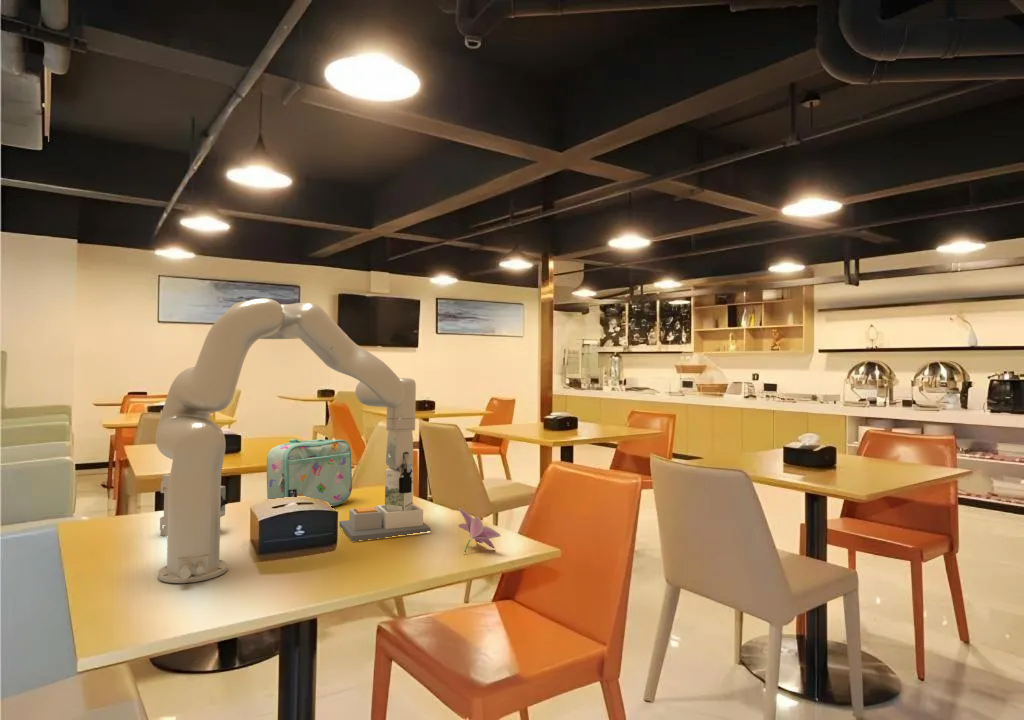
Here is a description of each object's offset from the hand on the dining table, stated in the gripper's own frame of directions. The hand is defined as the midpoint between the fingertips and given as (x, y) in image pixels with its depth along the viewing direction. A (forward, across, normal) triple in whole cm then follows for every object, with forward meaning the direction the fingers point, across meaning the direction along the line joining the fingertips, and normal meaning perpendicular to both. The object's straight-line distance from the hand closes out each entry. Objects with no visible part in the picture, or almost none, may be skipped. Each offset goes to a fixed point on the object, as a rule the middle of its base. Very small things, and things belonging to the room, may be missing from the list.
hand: (399, 489), depth 163 cm
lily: (+11, +26, +11) cm, 31 cm away
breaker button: (+8, 0, -9) cm, 12 cm away
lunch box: (+11, -32, -18) cm, 38 cm away
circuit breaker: (+10, -16, -48) cm, 52 cm away
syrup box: (+9, 0, 0) cm, 9 cm away
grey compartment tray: (+10, 0, -4) cm, 11 cm away
